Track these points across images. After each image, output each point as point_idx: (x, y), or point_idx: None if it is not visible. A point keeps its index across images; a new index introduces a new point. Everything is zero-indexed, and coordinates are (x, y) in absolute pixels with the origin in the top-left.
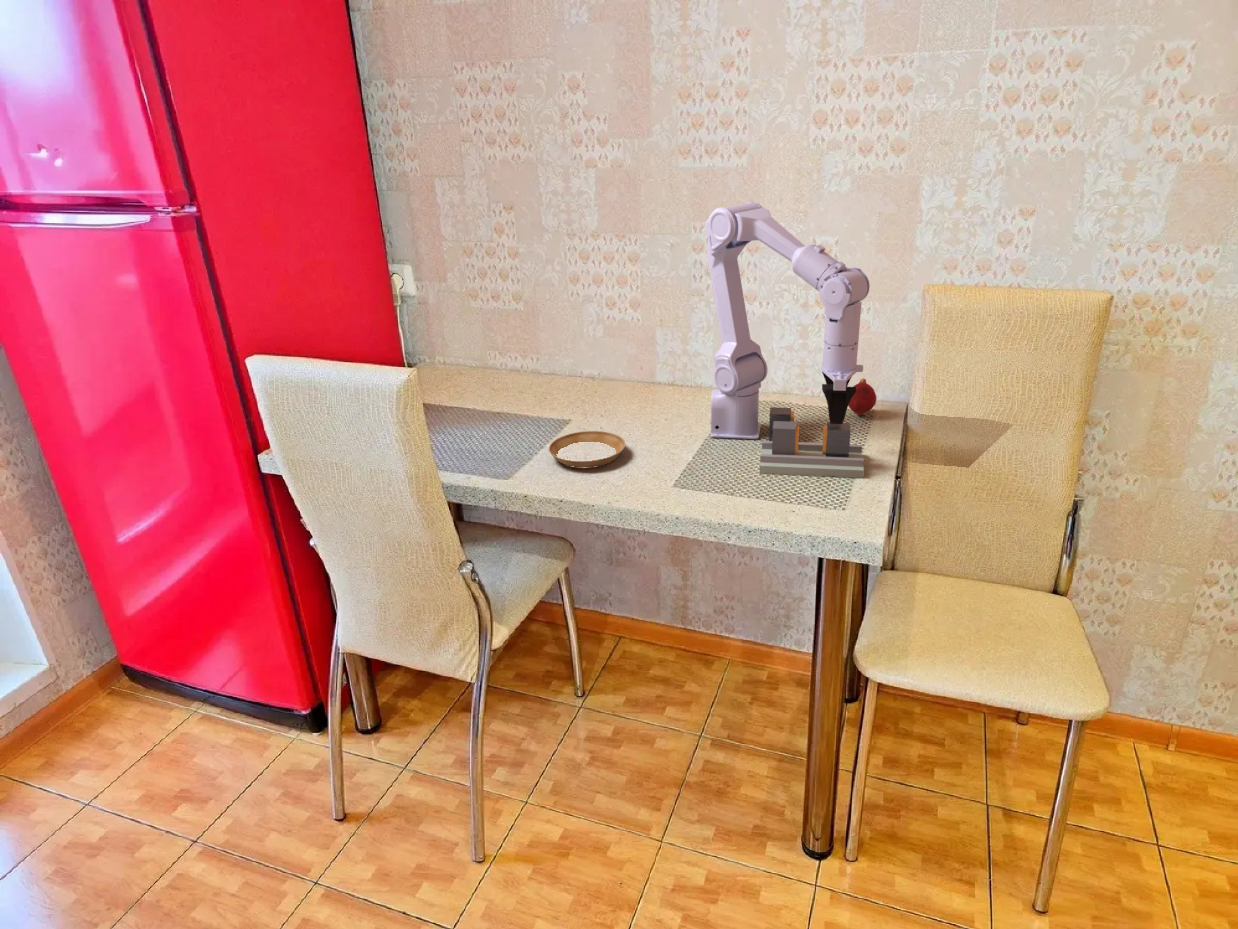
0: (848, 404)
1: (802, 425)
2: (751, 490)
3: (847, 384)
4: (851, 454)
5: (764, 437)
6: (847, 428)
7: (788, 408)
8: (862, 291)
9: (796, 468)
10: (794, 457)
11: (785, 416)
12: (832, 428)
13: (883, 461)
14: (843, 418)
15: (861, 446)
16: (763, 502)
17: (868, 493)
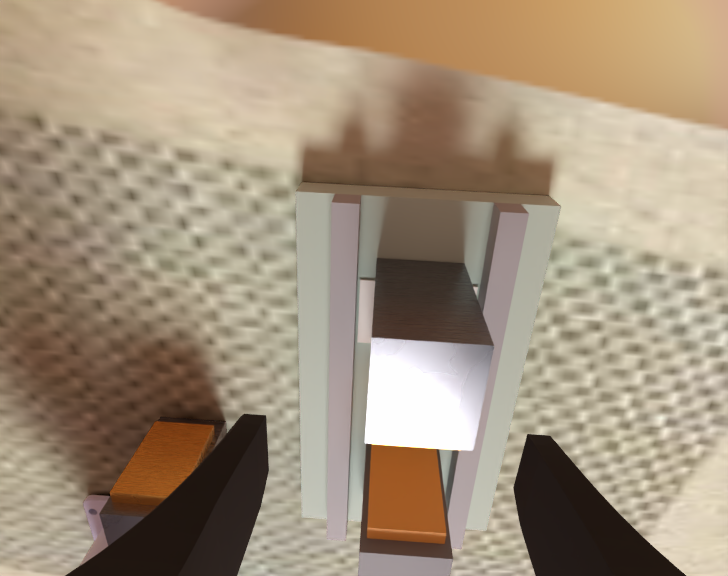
0: (669, 562)
1: (42, 373)
2: None
3: (195, 553)
4: (381, 241)
5: None
6: (460, 358)
7: (109, 522)
8: None
9: (506, 436)
10: (477, 463)
11: None
12: (457, 428)
13: (367, 78)
14: (572, 464)
15: (352, 205)
16: (687, 504)
17: (699, 189)
